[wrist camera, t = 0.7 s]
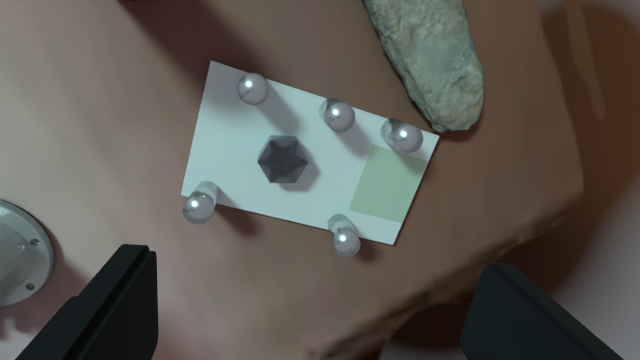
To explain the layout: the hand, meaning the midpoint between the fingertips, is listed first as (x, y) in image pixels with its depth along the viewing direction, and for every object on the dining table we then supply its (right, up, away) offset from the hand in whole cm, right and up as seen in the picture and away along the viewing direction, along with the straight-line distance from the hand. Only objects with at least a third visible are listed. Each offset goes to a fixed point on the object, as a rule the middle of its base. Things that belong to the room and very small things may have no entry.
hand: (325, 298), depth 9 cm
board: (-1, +5, +28) cm, 28 cm away
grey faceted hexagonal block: (-4, +6, +26) cm, 27 cm away
